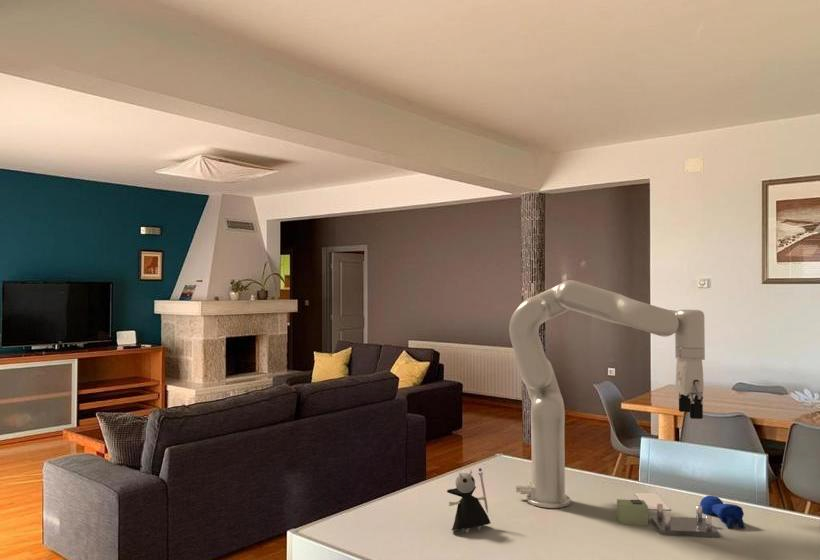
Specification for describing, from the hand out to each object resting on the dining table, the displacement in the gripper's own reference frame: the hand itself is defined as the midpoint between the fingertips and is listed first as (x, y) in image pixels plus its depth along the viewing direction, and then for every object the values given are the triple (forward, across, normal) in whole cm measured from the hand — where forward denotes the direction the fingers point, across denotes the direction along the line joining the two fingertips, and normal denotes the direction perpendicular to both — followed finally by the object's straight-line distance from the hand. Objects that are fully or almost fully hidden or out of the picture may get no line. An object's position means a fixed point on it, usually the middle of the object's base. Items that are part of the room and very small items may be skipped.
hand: (690, 415), depth 176 cm
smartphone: (+27, -8, -9) cm, 30 cm away
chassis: (+27, +14, -6) cm, 31 cm away
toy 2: (+27, +5, +6) cm, 28 cm away
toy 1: (+27, +20, -61) cm, 70 cm away
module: (+27, +9, -18) cm, 34 cm away
